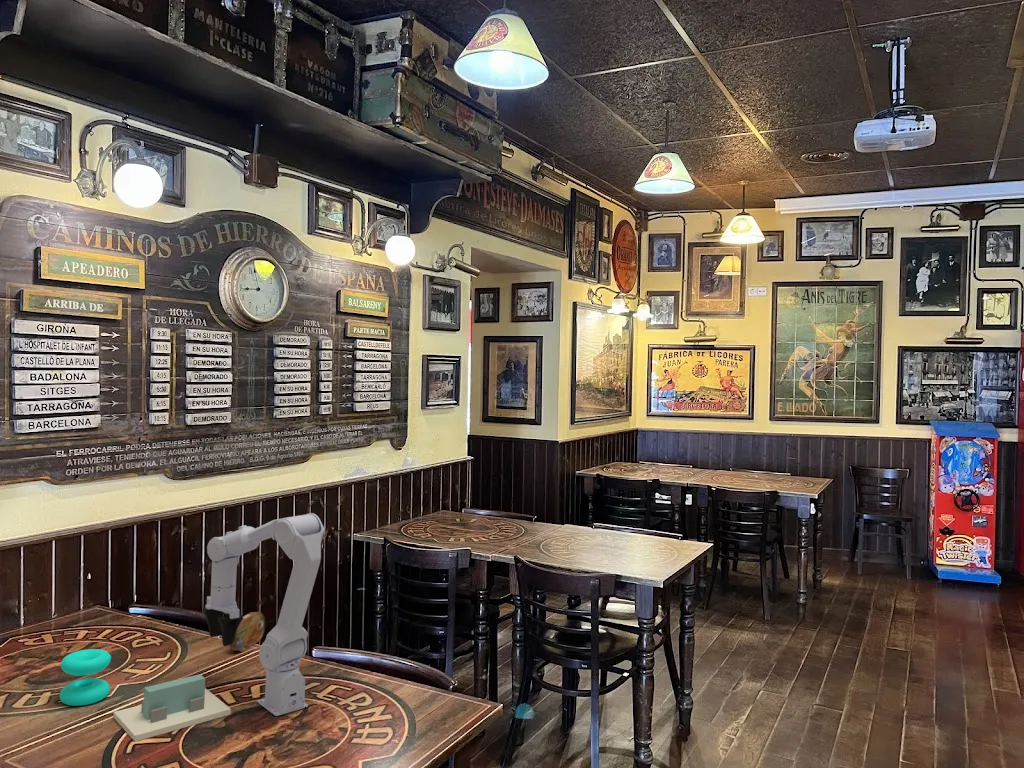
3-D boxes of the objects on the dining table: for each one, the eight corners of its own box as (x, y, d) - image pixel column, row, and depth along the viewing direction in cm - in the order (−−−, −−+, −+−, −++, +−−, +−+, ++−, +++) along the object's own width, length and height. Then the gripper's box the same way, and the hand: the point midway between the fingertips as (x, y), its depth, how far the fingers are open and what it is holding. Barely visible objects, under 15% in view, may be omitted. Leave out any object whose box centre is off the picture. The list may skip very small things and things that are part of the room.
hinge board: (230, 714, 166) (231, 698, 166) (134, 741, 152) (135, 724, 152) (205, 693, 176) (206, 678, 176) (113, 717, 163) (114, 700, 162)
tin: (236, 656, 201) (237, 624, 201) (225, 654, 201) (227, 623, 201) (265, 637, 215) (267, 608, 215) (255, 636, 216) (257, 607, 216)
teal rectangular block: (204, 705, 168) (205, 678, 168) (147, 720, 159) (148, 692, 159) (198, 700, 170) (200, 674, 170) (142, 715, 162) (144, 687, 162)
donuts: (71, 666, 164) (54, 654, 170) (69, 712, 164) (52, 698, 170) (118, 655, 172) (100, 644, 178) (116, 698, 172) (98, 685, 178)
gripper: (195, 580, 185) (193, 635, 185) (219, 594, 175) (217, 652, 175) (223, 576, 190) (221, 629, 190) (248, 589, 180) (246, 646, 180)
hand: (221, 640), depth 183 cm, fingers open, 7 cm apart
